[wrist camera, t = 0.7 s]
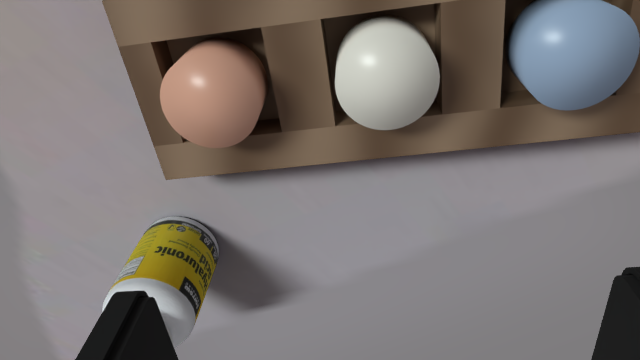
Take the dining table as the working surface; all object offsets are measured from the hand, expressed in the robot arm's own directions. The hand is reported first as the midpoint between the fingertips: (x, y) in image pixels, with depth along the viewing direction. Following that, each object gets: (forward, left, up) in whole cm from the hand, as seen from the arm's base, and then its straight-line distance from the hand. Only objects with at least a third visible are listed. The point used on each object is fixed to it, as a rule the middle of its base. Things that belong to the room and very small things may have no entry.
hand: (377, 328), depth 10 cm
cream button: (-1, 0, -17) cm, 17 cm away
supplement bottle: (+14, +12, -20) cm, 27 cm away
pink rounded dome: (+7, 0, -17) cm, 19 cm away
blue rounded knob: (-10, 0, -17) cm, 20 cm away
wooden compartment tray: (-1, 0, -19) cm, 19 cm away
